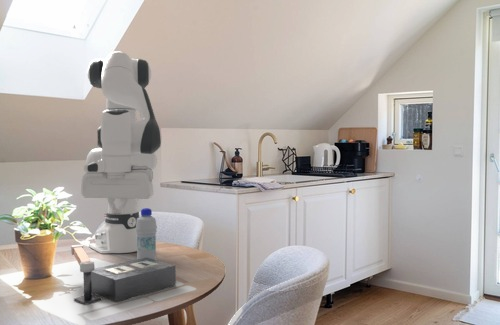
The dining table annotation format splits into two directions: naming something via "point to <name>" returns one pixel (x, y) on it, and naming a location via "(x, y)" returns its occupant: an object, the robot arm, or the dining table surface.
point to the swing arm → (82, 258)
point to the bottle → (146, 235)
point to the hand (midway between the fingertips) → (117, 213)
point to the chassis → (132, 279)
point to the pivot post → (87, 291)
